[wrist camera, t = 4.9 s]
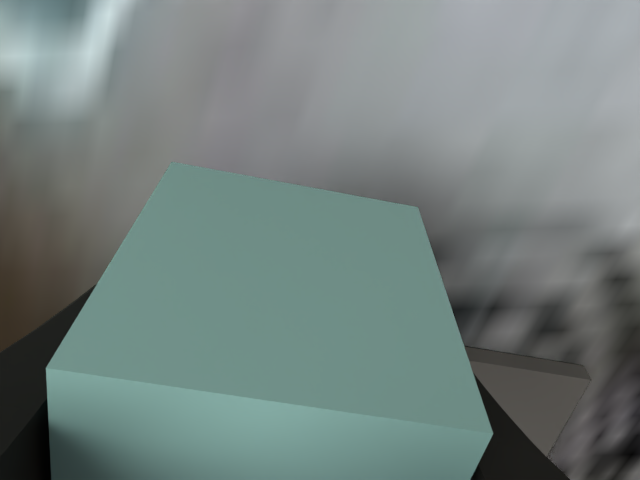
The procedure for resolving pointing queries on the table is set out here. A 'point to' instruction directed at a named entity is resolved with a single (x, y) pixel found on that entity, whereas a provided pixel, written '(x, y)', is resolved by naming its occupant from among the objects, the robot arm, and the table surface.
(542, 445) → the post board
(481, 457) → the robot arm
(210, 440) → the seafoam green cube
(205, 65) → the table surface
